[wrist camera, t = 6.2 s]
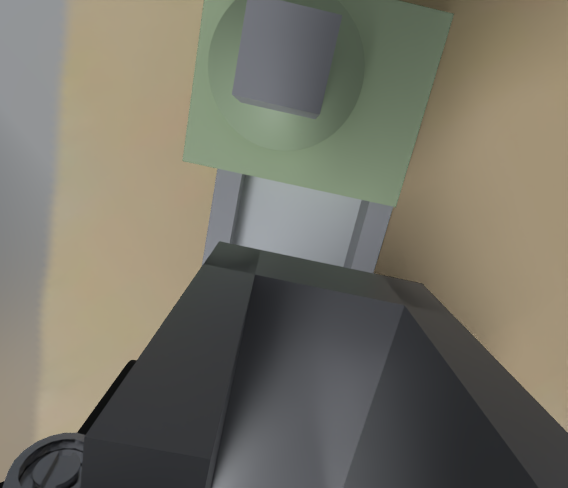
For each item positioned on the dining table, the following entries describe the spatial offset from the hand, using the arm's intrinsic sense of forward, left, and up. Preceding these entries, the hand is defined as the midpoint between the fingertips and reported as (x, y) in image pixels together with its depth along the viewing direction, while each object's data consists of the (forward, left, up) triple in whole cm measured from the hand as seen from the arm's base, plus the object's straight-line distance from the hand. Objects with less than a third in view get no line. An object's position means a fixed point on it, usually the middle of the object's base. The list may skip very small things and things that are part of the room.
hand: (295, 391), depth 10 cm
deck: (+1, -6, -16) cm, 17 cm away
